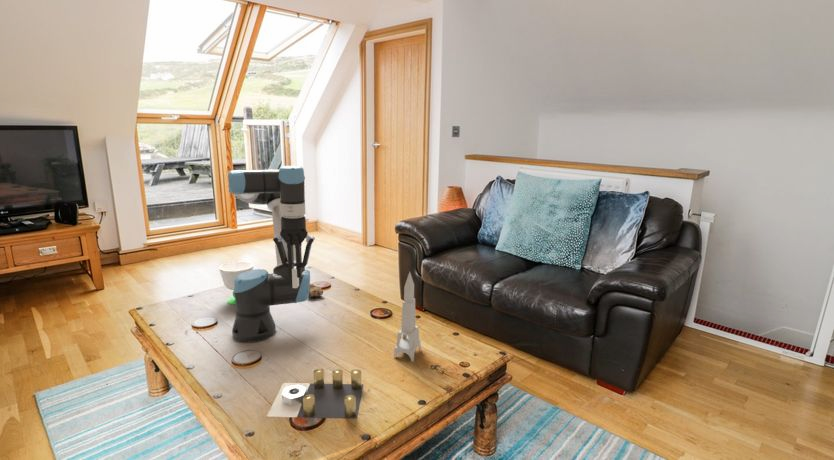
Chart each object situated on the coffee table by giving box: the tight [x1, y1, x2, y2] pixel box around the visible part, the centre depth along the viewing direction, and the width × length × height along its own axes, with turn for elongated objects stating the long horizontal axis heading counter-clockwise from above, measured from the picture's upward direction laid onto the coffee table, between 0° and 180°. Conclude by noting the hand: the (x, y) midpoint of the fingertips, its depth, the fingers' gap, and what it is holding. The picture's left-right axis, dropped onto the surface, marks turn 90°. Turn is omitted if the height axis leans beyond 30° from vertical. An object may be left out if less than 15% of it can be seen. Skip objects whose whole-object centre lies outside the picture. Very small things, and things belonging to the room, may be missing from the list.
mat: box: [266, 382, 364, 419], centre depth 128 cm, size 24×16×1 cm, turn 90°
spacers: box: [303, 368, 362, 419], centre depth 128 cm, size 14×16×5 cm
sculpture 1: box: [309, 283, 324, 298], centre depth 205 cm, size 8×19×5 cm, turn 58°
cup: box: [218, 260, 254, 306], centre depth 195 cm, size 14×14×16 cm
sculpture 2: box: [393, 271, 422, 363], centre depth 152 cm, size 7×8×30 cm
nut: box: [282, 385, 307, 407], centre depth 128 cm, size 7×6×3 cm
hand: (295, 286), depth 148 cm, fingers closed
